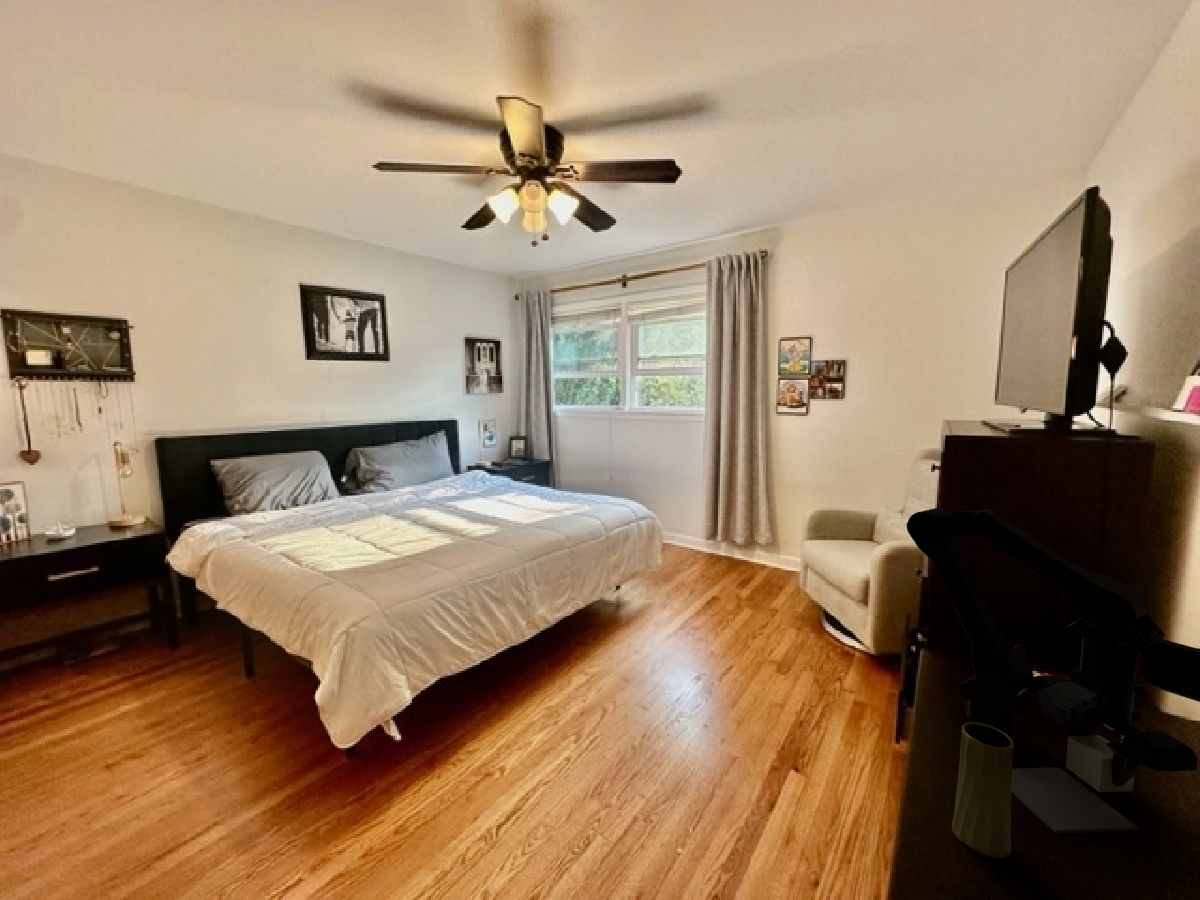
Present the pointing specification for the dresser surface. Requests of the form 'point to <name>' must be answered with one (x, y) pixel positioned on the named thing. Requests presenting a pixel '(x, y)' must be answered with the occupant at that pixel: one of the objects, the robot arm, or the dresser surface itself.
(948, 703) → the dresser surface
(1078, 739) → the cube
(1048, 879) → the dresser surface
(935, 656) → the dresser surface
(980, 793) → the vase
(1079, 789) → the mat
